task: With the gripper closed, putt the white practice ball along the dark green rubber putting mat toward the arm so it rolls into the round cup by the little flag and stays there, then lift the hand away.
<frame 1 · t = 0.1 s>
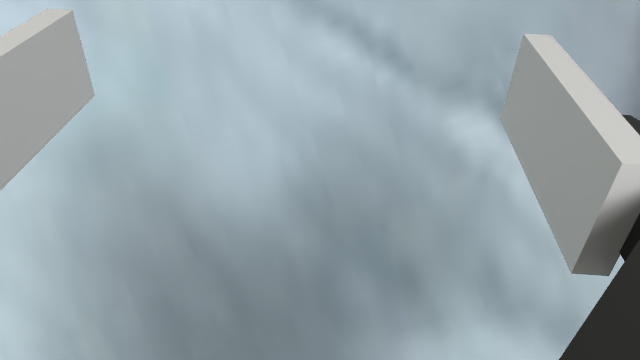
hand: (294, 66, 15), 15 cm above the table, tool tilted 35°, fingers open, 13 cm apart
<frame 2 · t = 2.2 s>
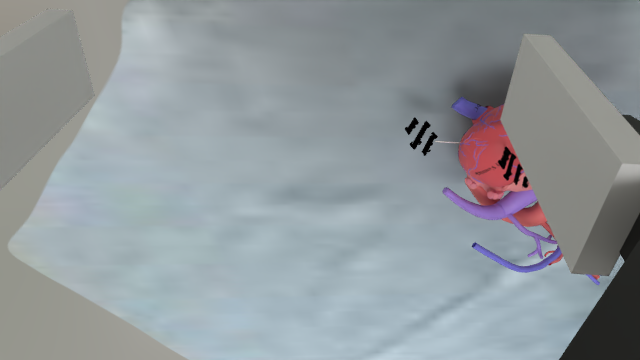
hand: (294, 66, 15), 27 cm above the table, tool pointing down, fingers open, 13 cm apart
heart model: (524, 132, 45), on the table
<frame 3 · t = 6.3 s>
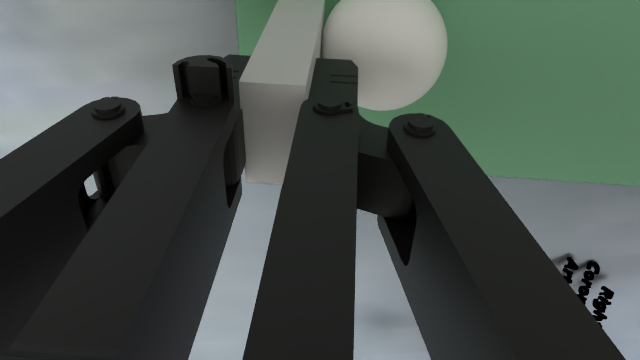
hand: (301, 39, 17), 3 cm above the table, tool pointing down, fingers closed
ball: (383, 47, 16), point 4 cm above the table, touching green, gripper
heart model: (548, 331, 30), on the table
green: (586, 21, 19), on the table
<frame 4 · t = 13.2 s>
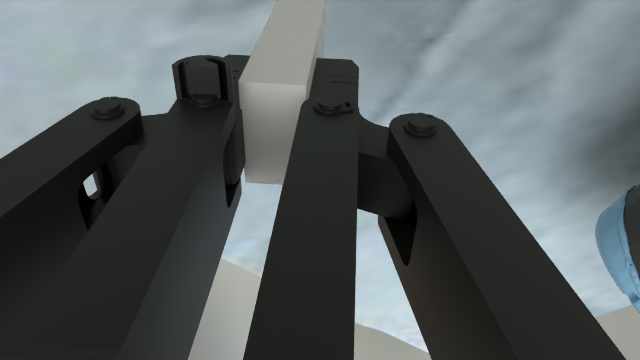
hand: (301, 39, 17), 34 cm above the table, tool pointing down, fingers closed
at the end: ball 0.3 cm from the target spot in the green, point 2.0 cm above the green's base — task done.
